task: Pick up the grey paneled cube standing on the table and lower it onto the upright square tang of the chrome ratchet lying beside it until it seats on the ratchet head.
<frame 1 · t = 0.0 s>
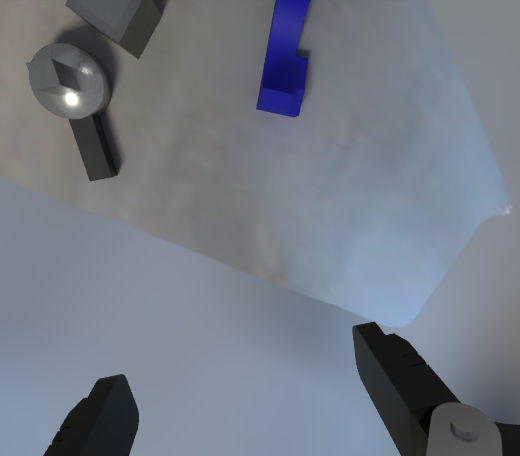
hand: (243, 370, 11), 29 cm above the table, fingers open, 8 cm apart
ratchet: (78, 85, 34), on the table
grey paneled cube: (128, 22, 33), on the table
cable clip: (285, 57, 35), on the table
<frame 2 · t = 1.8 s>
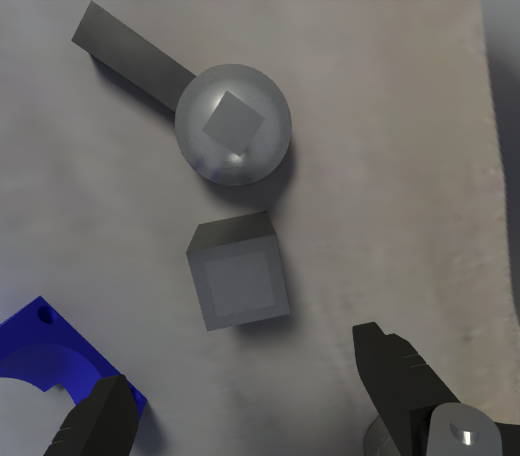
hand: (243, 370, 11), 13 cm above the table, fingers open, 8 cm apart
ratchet: (234, 129, 21), on the table
grey paneled cube: (239, 249, 24), on the table
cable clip: (77, 361, 26), on the table
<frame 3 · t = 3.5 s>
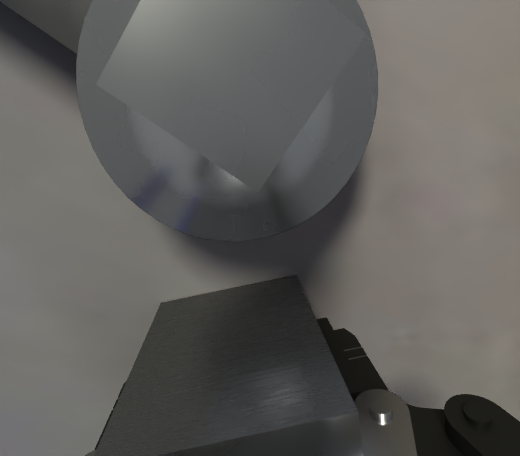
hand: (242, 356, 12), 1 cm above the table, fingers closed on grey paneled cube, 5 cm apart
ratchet: (233, 109, 10), on the table
grey paneled cube: (242, 346, 12), on the table, touching gripper
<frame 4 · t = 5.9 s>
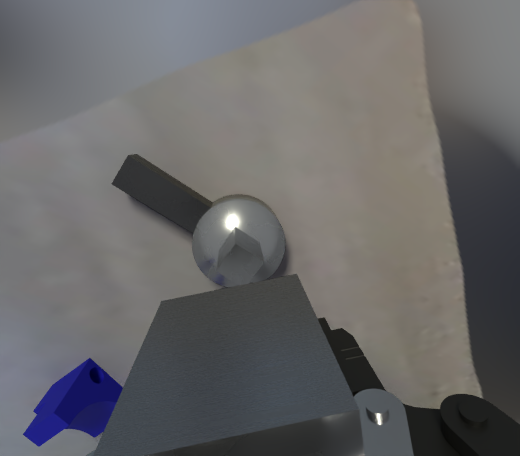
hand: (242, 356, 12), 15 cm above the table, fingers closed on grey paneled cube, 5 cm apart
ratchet: (238, 236, 26), on the table
grey paneled cube: (242, 344, 12), point 14 cm above the table, touching gripper
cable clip: (119, 409, 30), on the table
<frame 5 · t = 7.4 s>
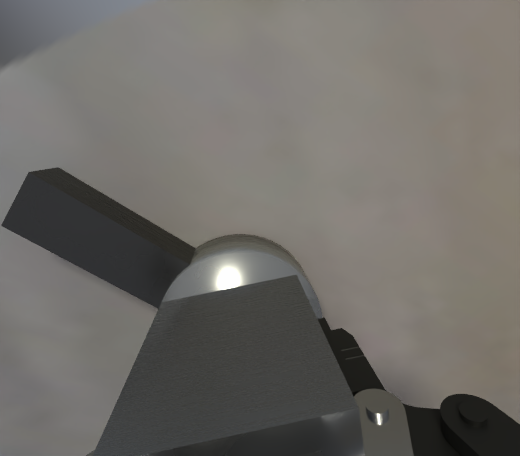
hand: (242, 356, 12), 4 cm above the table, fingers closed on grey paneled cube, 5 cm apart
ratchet: (240, 301, 16), on the table
grey paneled cube: (243, 346, 12), point 4 cm above the table, touching gripper
when the fingers open (4 cm above the table, at t = 8.3 s): grey paneled cube stays where it is, resting on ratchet.
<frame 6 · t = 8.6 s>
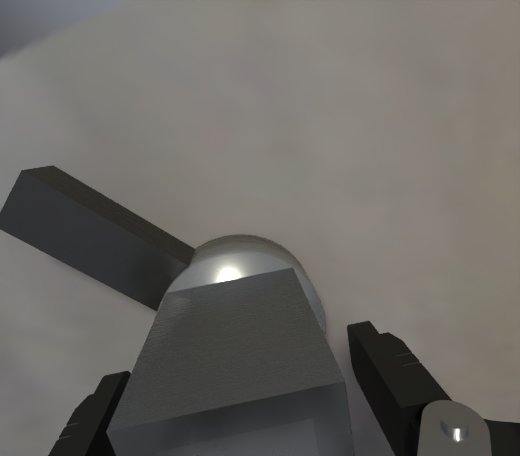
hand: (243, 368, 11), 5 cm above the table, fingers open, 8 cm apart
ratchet: (240, 303, 15), on the table
grey paneled cube: (242, 334, 13), point 2 cm above the table, touching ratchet
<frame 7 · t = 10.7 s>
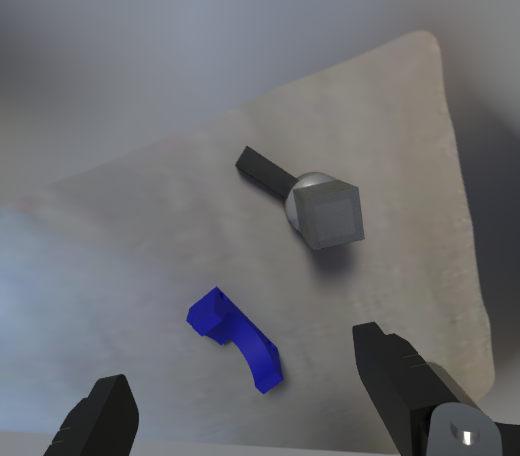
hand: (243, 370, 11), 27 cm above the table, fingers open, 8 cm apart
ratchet: (313, 202, 37), on the table
grey paneled cube: (318, 206, 35), point 2 cm above the table, touching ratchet
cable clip: (234, 327, 41), on the table
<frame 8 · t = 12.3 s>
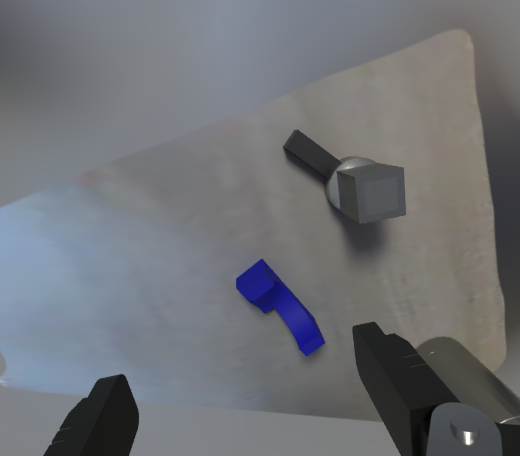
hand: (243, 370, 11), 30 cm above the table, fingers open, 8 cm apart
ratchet: (351, 184, 40), on the table
grey paneled cube: (358, 187, 38), point 2 cm above the table, touching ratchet
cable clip: (275, 297, 44), on the table
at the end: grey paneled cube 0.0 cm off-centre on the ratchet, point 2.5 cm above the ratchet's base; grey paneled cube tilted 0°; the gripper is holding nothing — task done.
